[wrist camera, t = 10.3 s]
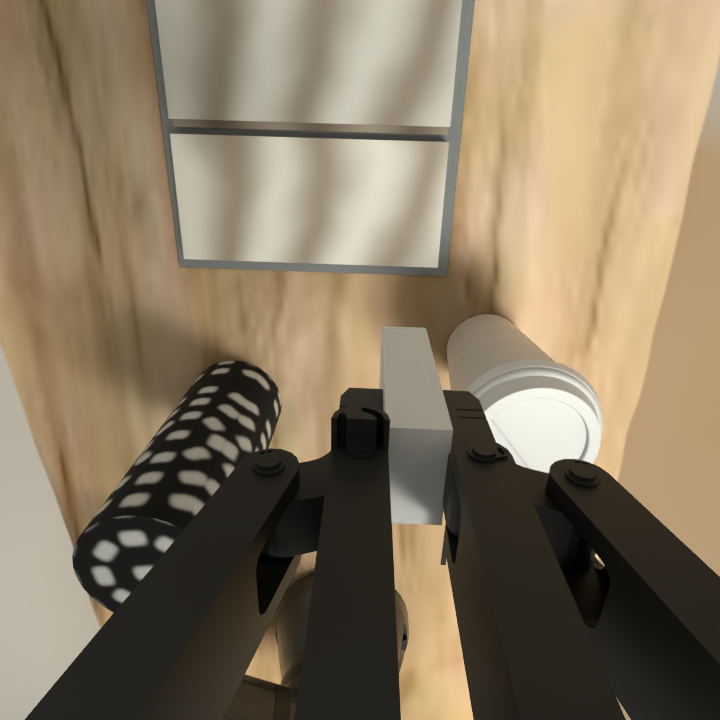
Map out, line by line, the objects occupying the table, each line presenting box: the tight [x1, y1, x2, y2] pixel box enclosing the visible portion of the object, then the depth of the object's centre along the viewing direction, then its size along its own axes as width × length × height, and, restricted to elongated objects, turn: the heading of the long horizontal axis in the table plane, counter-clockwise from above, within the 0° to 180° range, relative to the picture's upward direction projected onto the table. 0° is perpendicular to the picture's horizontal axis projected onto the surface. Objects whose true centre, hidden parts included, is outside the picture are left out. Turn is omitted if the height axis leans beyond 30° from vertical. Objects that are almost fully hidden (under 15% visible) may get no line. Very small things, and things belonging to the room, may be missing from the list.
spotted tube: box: [72, 361, 282, 612], centre depth 37 cm, size 8×8×20 cm
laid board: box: [155, 0, 462, 135], centre depth 34 cm, size 20×10×1 cm, turn 88°
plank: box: [170, 134, 449, 268], centre depth 38 cm, size 20×9×1 cm, turn 88°
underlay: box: [147, 0, 475, 276], centre depth 36 cm, size 22×21×1 cm
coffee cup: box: [447, 314, 603, 473], centre depth 36 cm, size 10×10×15 cm
